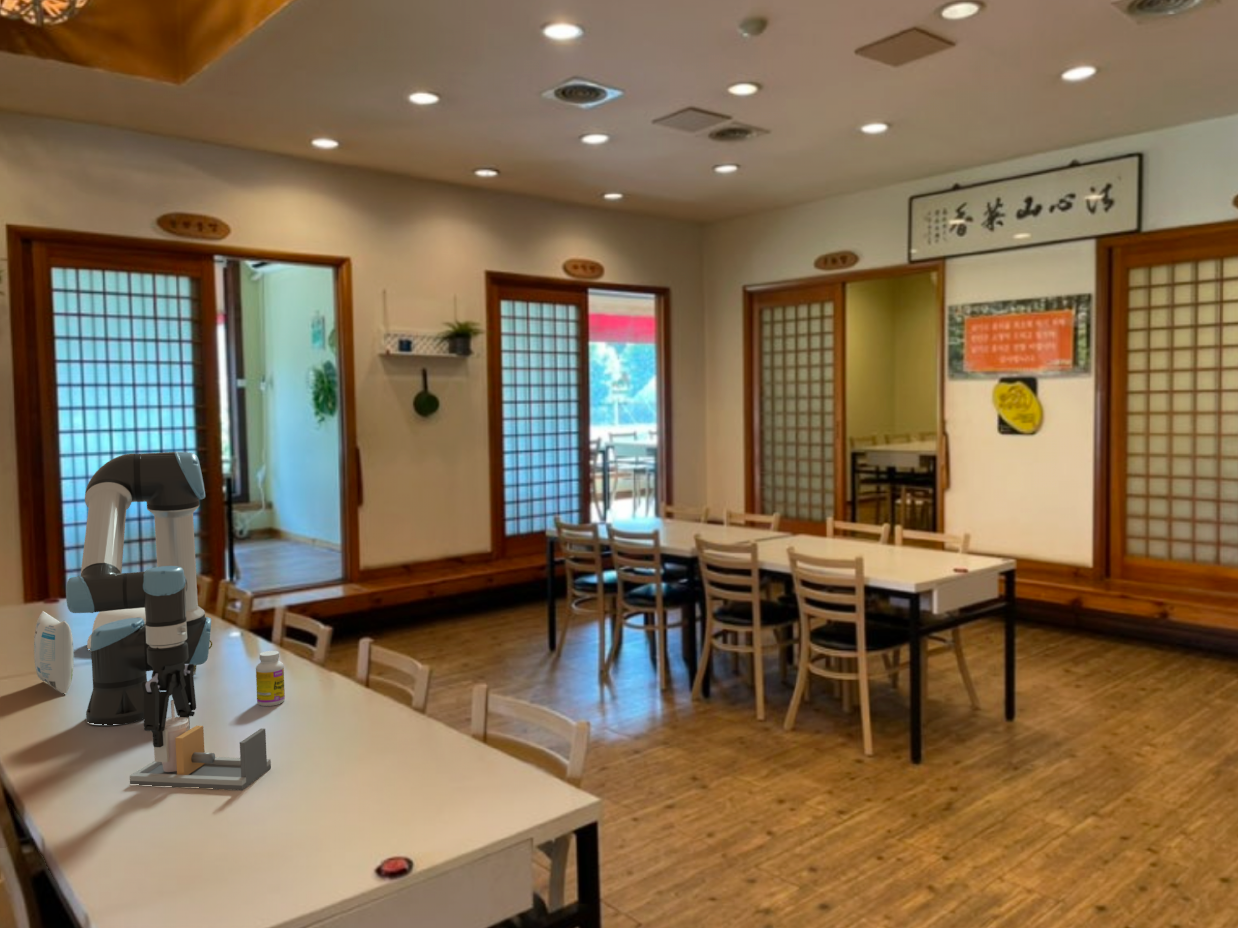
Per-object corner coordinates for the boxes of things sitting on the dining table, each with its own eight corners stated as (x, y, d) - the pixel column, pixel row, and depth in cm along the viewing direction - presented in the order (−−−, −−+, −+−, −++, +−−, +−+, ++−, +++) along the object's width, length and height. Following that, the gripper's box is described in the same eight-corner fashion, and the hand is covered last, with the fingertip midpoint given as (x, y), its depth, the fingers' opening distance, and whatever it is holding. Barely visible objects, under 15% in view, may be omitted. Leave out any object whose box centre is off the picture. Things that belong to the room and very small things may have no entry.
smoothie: (197, 764, 190) (194, 698, 189) (173, 776, 184) (170, 707, 183) (173, 761, 192) (170, 695, 192) (148, 772, 186) (145, 704, 186)
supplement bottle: (275, 707, 231) (273, 657, 230) (251, 706, 232) (249, 656, 231) (290, 699, 237) (288, 650, 236) (267, 698, 238) (264, 649, 238)
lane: (130, 785, 184) (127, 741, 183) (164, 764, 195) (162, 722, 194) (242, 790, 181) (240, 745, 180) (270, 768, 191) (269, 726, 191)
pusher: (177, 777, 184) (175, 738, 184) (198, 763, 192) (196, 725, 191) (202, 778, 184) (200, 739, 183) (223, 764, 191) (221, 726, 190)
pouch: (47, 699, 241) (42, 624, 239) (31, 684, 254) (26, 612, 253) (81, 692, 246) (77, 618, 245) (63, 678, 260) (59, 608, 259)
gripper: (153, 656, 177) (159, 774, 178) (211, 632, 196) (216, 738, 197) (118, 655, 178) (124, 772, 179) (179, 631, 197) (184, 737, 198)
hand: (172, 754), depth 188 cm, fingers closed on smoothie, 6 cm apart
